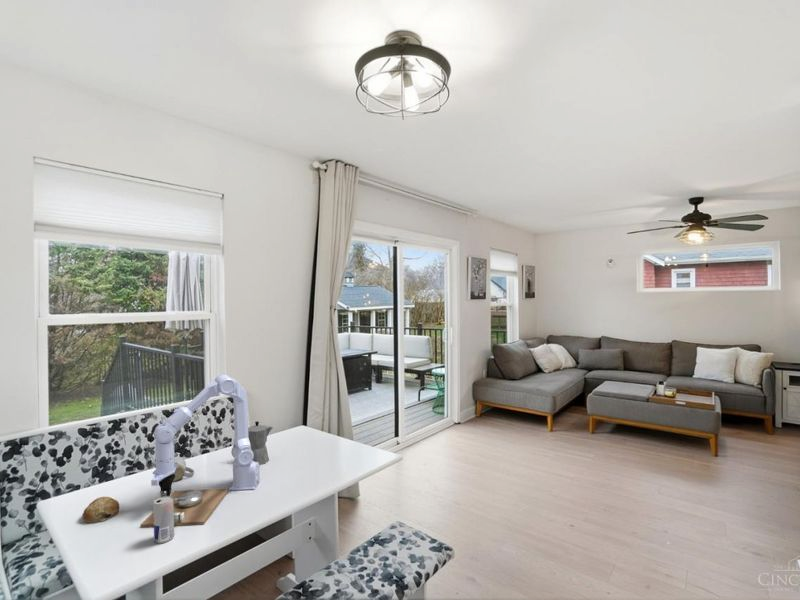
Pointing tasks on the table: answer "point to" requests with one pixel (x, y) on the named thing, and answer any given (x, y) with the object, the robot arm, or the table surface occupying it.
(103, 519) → the bread roll
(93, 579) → the table surface
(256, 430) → the coffeepot
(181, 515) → the stand board
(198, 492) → the grey metal rounded piece
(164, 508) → the energy drink
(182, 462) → the ceramic mug
